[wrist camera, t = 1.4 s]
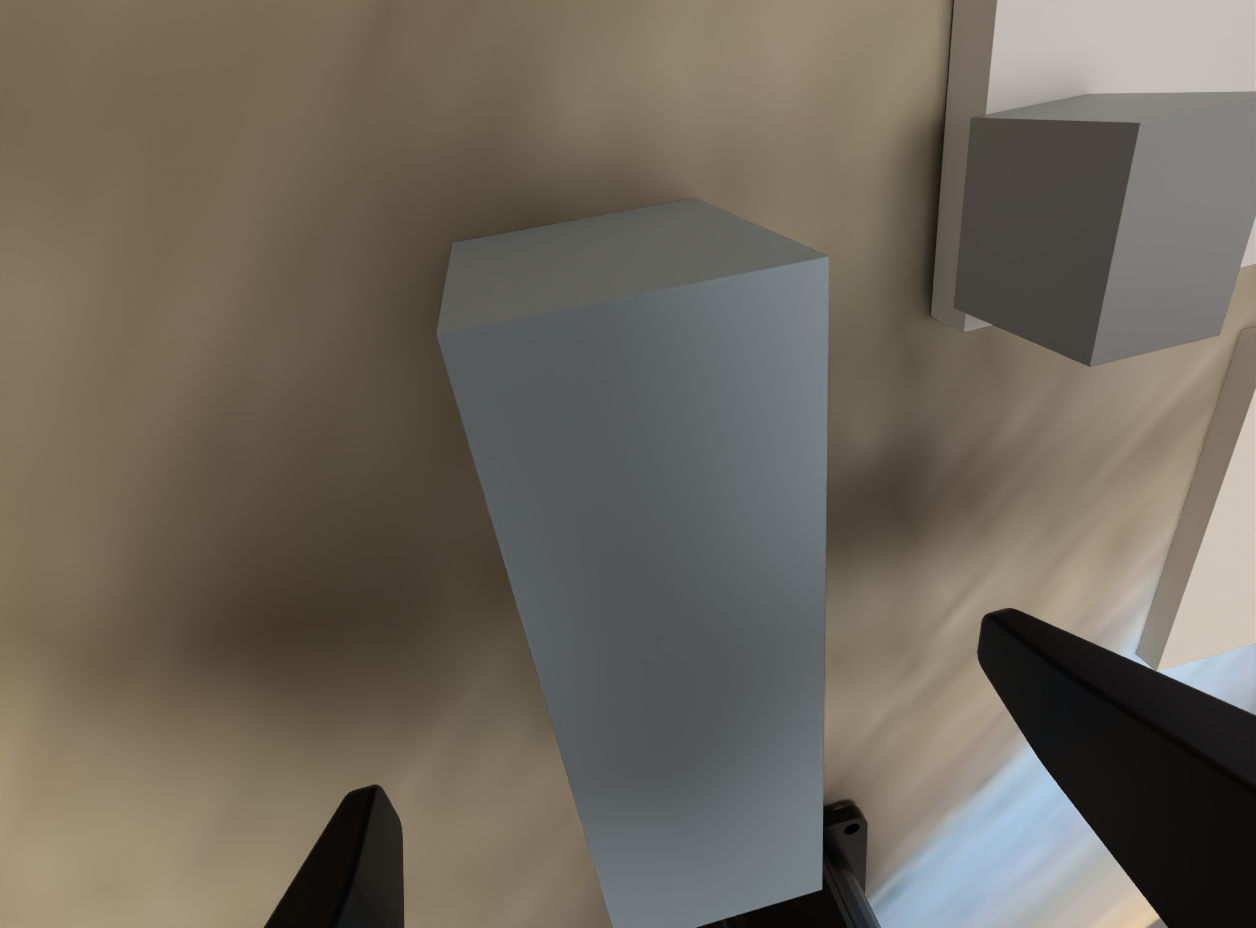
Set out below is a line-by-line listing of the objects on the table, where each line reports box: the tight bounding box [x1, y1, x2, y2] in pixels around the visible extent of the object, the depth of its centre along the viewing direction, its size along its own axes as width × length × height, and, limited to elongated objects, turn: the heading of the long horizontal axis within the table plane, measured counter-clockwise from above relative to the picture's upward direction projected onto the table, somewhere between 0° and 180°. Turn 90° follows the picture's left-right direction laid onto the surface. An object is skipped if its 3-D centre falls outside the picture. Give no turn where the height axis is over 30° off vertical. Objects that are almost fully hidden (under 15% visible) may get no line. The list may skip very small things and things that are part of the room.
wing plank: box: [1136, 327, 1256, 672], centre depth 17 cm, size 10×4×1 cm, turn 9°
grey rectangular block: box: [436, 198, 829, 928], centre depth 12 cm, size 12×4×5 cm, turn 8°
